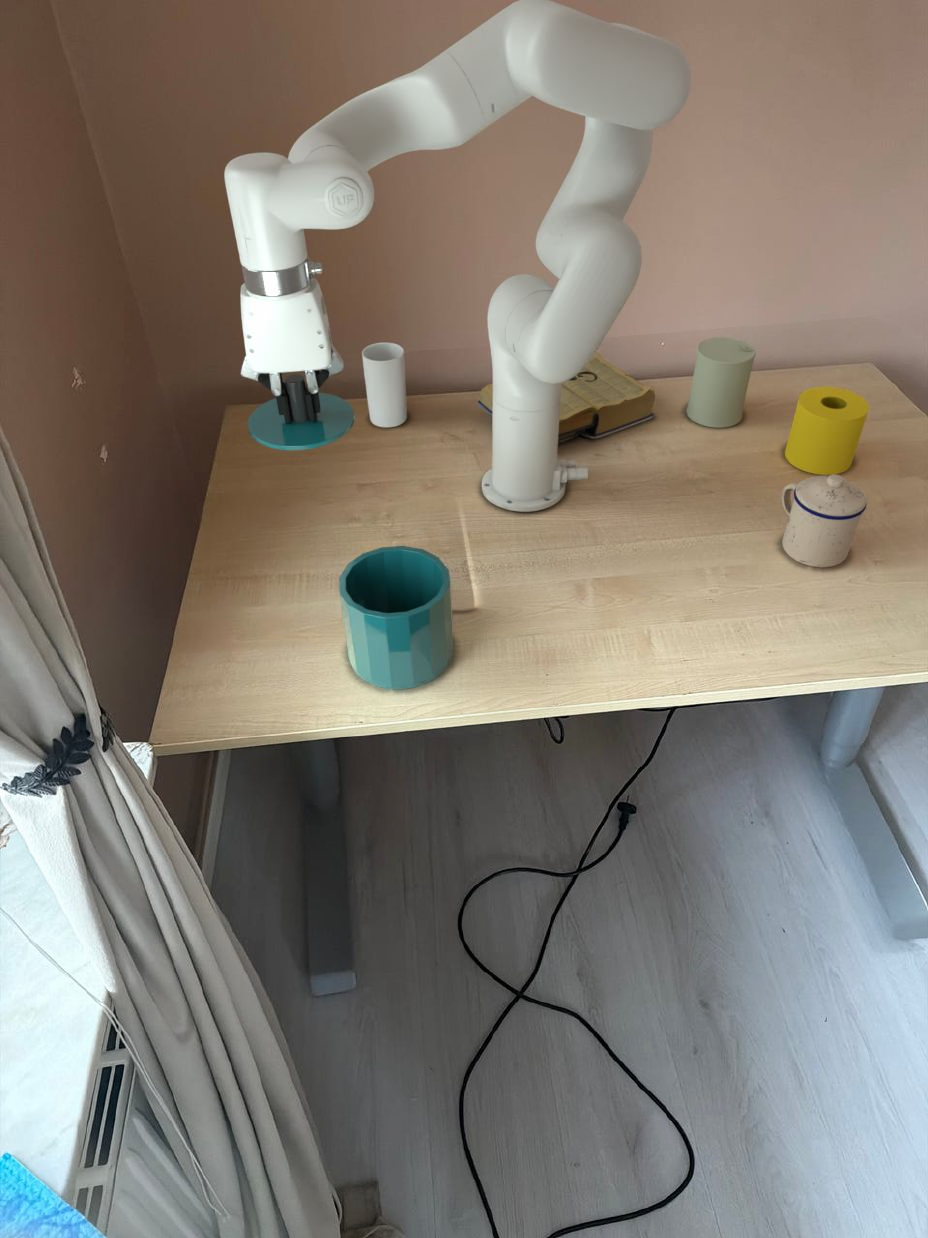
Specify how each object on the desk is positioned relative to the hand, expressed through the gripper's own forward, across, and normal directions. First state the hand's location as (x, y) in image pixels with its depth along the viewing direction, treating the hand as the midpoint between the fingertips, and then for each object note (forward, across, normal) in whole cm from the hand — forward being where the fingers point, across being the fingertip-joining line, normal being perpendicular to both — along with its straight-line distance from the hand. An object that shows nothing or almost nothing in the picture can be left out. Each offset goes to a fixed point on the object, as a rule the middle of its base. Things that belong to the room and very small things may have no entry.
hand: (300, 416), depth 115 cm
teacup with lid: (+20, -67, +9) cm, 71 cm away
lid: (+1, 0, 0) cm, 1 cm away
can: (+20, -65, -27) cm, 73 cm away
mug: (+19, -10, -33) cm, 40 cm away
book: (+20, -40, -28) cm, 53 cm away
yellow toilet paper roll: (+20, -77, -12) cm, 81 cm away
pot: (+19, -11, +25) cm, 33 cm away
